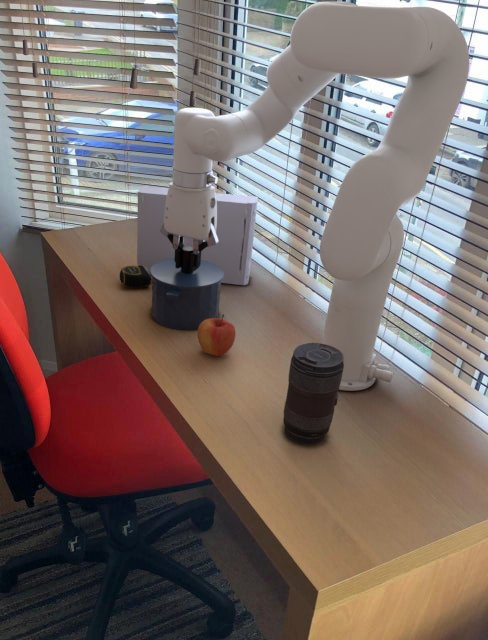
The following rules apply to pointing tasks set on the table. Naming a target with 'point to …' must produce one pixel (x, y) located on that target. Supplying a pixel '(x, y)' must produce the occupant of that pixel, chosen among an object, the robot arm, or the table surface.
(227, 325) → the apple
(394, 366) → the table surface
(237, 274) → the game console
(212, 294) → the pot
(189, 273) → the lid
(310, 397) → the camera lens
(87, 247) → the table surface
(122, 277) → the tape measure
